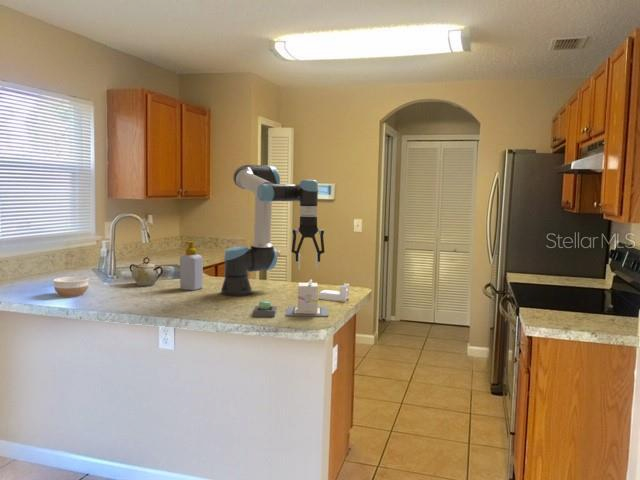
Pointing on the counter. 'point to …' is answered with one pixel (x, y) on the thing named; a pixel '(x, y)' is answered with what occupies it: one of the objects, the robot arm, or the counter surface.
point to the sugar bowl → (145, 273)
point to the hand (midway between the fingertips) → (307, 268)
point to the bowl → (71, 286)
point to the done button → (264, 305)
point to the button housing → (264, 312)
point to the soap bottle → (191, 269)
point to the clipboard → (294, 312)
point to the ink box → (308, 297)
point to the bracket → (335, 294)
